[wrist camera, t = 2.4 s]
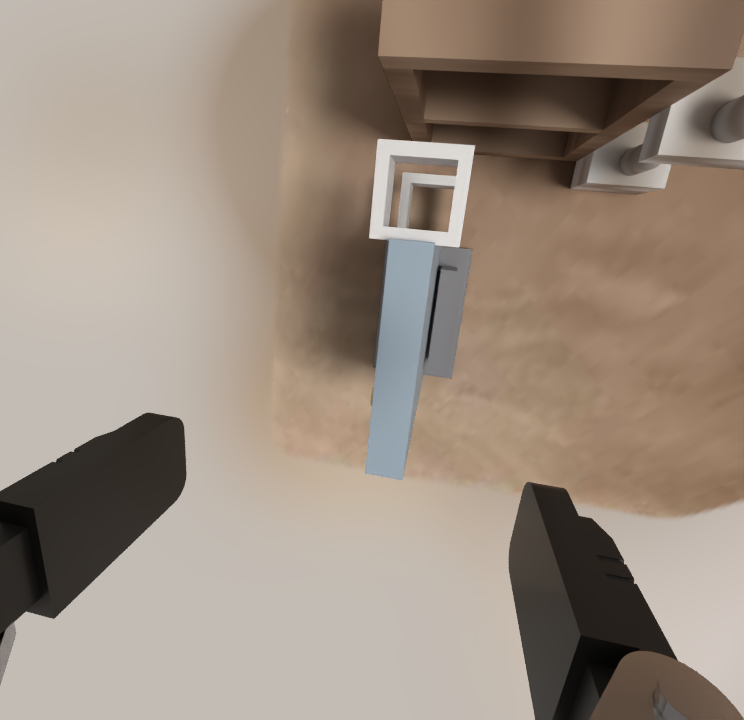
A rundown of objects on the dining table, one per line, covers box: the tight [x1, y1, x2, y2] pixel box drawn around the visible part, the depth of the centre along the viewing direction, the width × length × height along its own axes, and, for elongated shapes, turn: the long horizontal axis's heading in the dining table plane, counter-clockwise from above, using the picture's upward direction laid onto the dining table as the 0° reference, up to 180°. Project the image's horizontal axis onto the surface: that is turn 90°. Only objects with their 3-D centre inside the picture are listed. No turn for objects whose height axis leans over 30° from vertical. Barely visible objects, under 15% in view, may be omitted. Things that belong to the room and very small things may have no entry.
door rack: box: [373, 241, 472, 379], centre depth 33 cm, size 7×11×5 cm, turn 174°
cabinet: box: [378, 0, 744, 194], centre depth 22 cm, size 17×11×18 cm, turn 85°
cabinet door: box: [365, 139, 475, 480], centre depth 27 cm, size 4×16×16 cm, turn 175°
